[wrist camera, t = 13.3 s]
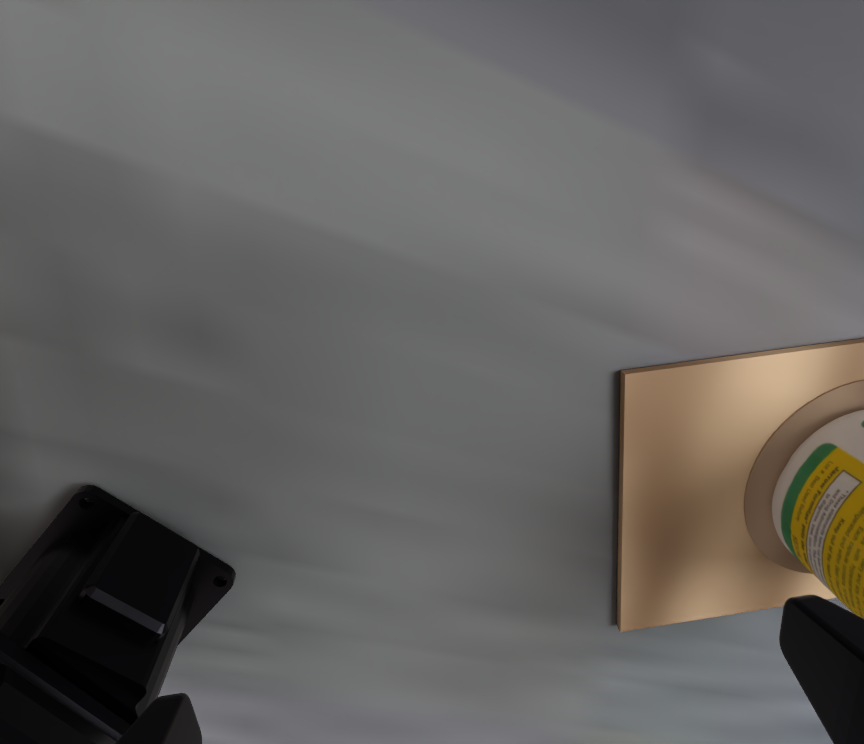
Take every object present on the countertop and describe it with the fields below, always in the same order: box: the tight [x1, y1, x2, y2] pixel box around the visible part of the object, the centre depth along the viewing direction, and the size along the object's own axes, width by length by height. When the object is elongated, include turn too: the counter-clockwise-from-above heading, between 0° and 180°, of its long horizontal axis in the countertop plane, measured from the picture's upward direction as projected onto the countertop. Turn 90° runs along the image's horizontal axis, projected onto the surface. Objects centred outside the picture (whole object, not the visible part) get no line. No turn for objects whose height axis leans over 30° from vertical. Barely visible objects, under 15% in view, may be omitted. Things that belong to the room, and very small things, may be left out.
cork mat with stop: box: [617, 338, 864, 632], centre depth 22 cm, size 16×12×5 cm
